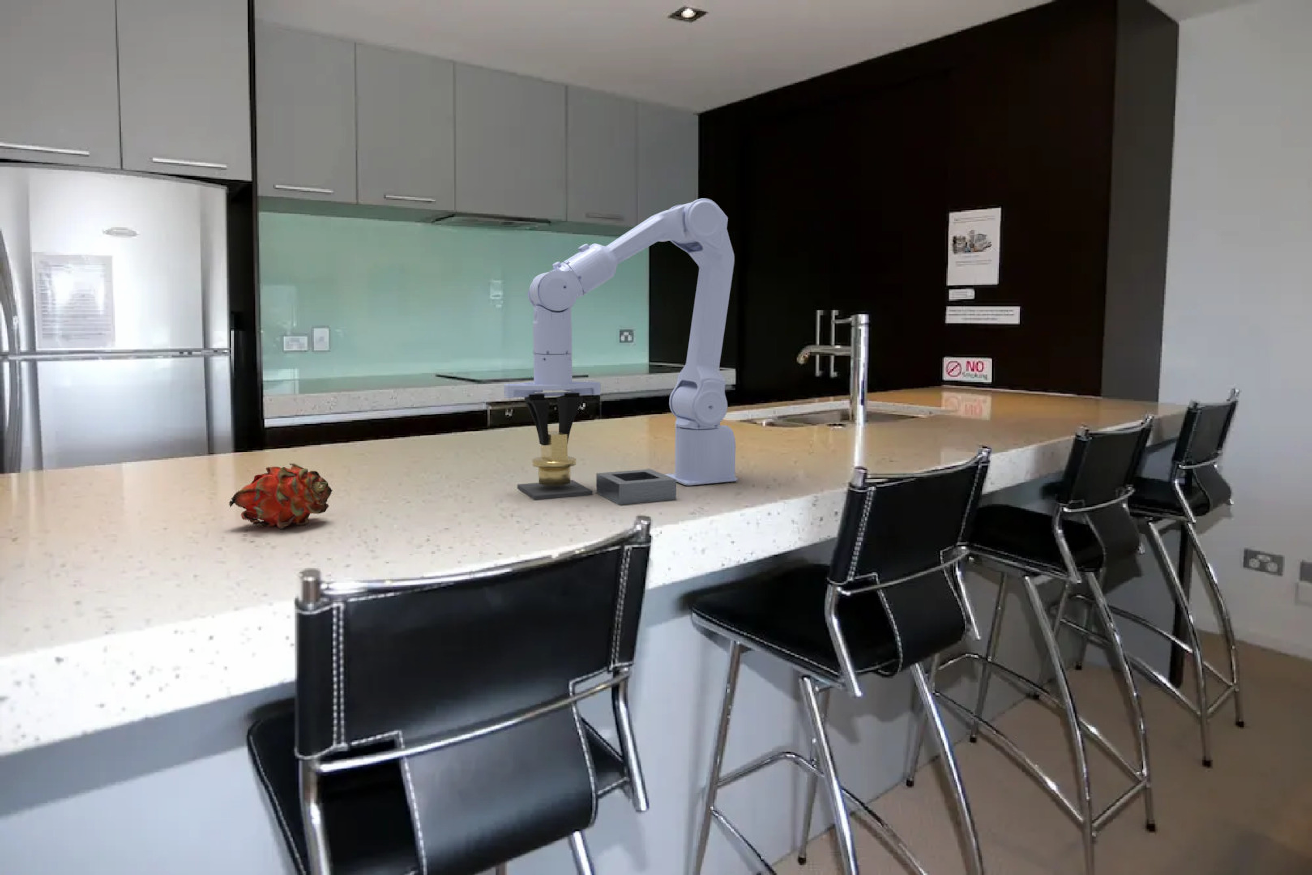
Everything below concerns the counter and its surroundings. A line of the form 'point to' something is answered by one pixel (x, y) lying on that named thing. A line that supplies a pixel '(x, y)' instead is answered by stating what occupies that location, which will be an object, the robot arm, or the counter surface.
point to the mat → (554, 490)
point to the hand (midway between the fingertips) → (553, 443)
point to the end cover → (554, 460)
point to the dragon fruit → (283, 496)
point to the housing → (635, 486)
